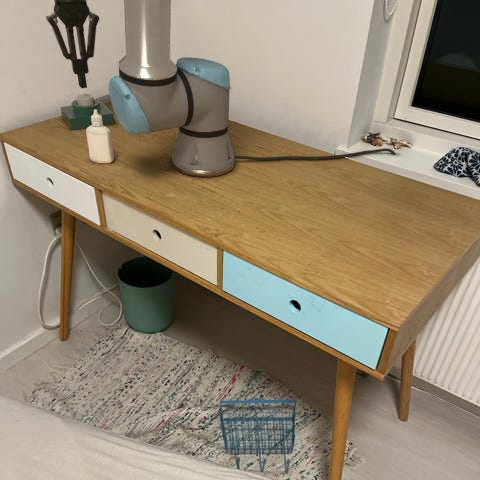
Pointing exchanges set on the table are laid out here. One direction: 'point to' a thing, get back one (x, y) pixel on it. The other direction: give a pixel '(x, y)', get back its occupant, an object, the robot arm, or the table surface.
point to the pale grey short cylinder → (85, 100)
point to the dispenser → (85, 115)
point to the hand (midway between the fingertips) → (83, 86)
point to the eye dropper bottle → (99, 140)
